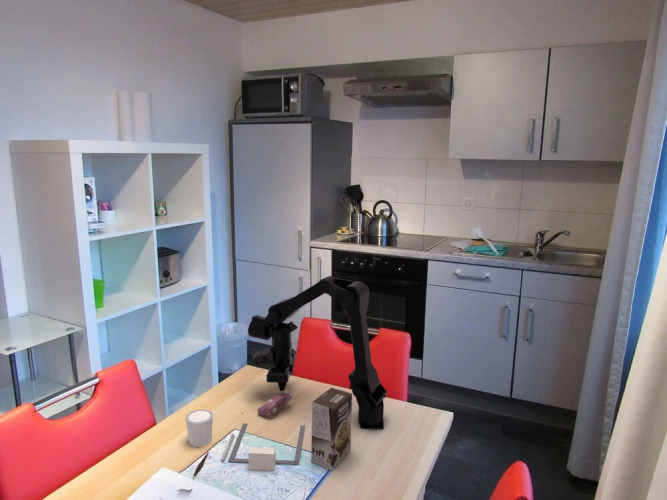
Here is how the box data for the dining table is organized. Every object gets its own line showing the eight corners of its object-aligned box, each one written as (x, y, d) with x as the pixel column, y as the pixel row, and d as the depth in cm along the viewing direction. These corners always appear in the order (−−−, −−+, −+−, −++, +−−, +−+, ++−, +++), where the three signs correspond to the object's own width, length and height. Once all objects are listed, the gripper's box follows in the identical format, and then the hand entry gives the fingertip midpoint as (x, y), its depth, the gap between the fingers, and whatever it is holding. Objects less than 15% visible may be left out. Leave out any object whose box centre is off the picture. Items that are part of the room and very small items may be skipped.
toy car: (265, 424, 135) (273, 407, 132) (255, 412, 137) (262, 396, 134) (288, 409, 142) (296, 393, 139) (278, 399, 144) (286, 383, 141)
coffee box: (332, 471, 113) (333, 409, 109) (310, 462, 116) (310, 401, 113) (351, 451, 120) (353, 393, 117) (330, 443, 124) (331, 386, 120)
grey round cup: (205, 429, 129) (204, 406, 127) (219, 440, 124) (218, 416, 123) (181, 440, 124) (180, 415, 123) (195, 451, 119) (193, 426, 118)
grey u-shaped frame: (305, 426, 131) (305, 411, 130) (297, 471, 112) (297, 454, 112) (236, 424, 132) (236, 409, 131) (217, 468, 113) (217, 452, 112)
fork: (213, 454, 119) (213, 447, 119) (187, 499, 103) (187, 491, 103) (203, 453, 119) (203, 446, 119) (176, 498, 104) (175, 490, 103)
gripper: (260, 330, 152) (261, 375, 155) (248, 354, 134) (249, 405, 137) (295, 331, 152) (295, 376, 155) (287, 355, 133) (287, 406, 136)
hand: (282, 390), depth 146 cm, fingers closed
